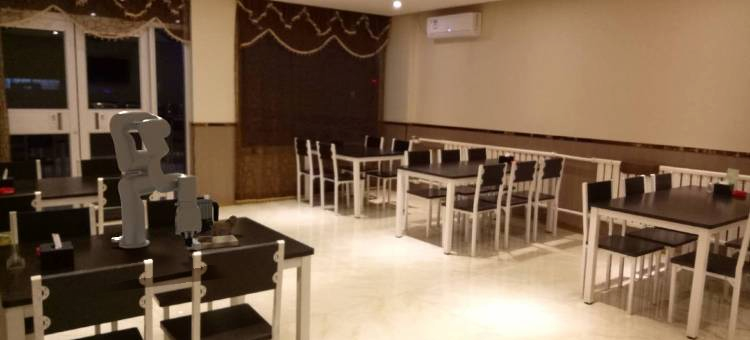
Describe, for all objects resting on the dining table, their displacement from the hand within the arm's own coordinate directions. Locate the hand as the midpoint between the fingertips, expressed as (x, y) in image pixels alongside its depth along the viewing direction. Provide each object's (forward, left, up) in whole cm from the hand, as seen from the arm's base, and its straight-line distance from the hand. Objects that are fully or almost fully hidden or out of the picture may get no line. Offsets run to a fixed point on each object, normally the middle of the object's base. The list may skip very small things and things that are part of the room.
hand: (188, 246), depth 242 cm
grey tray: (+12, +14, -4) cm, 18 cm away
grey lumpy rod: (+3, +4, -1) cm, 5 cm away
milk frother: (+12, +49, -4) cm, 50 cm away
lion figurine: (+20, +30, -4) cm, 37 cm away
